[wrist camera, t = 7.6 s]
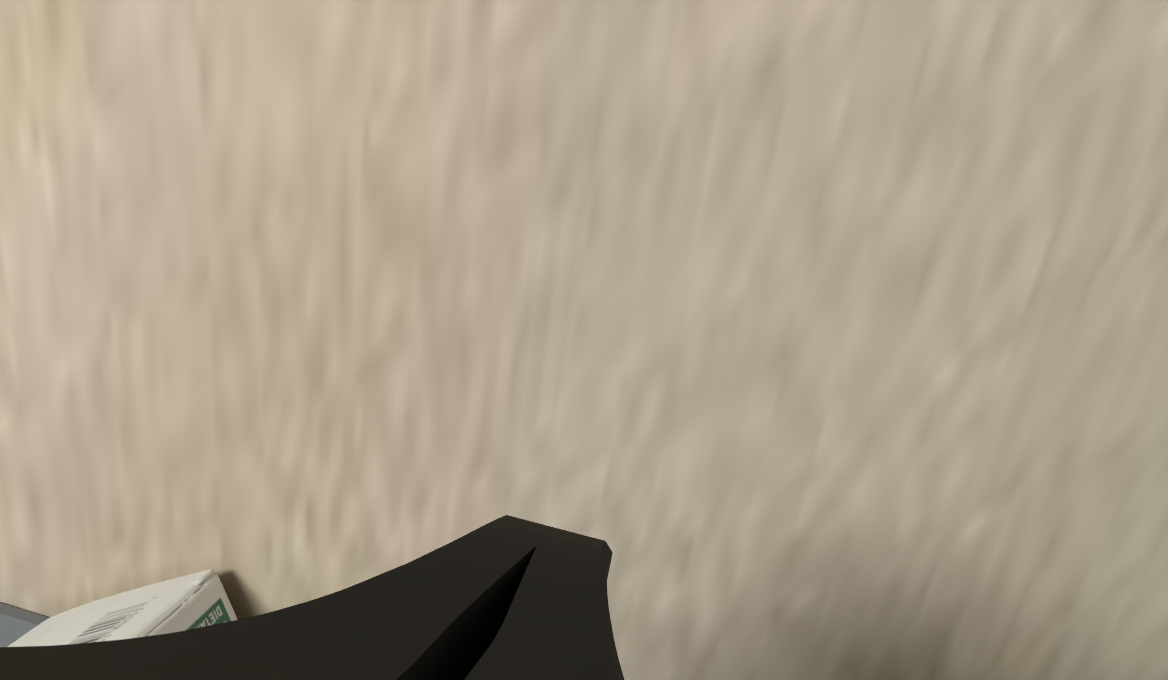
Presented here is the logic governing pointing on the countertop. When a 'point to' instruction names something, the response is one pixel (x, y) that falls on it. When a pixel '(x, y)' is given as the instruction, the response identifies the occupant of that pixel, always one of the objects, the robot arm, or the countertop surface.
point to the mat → (16, 623)
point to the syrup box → (138, 613)
